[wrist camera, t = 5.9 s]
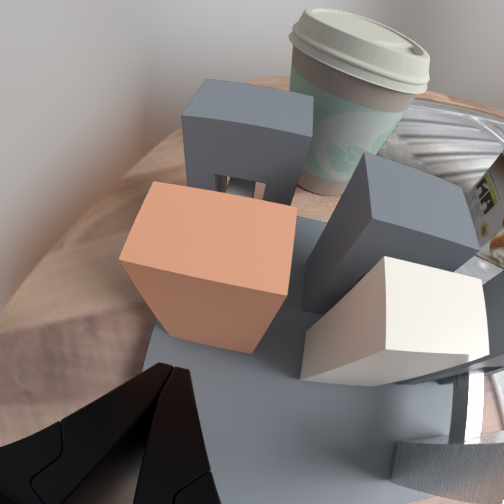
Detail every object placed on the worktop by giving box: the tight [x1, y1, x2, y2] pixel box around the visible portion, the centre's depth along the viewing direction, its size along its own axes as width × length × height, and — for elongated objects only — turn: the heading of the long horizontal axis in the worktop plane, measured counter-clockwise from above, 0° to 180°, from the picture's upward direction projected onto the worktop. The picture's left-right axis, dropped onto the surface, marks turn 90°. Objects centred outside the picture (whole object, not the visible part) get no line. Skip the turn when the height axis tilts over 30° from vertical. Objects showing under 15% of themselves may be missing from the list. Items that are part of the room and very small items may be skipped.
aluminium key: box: [390, 367, 504, 504], centre depth 8 cm, size 7×4×8 cm, turn 170°
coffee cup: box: [289, 7, 430, 196], centre depth 17 cm, size 9×8×12 cm
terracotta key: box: [119, 177, 297, 354], centre depth 12 cm, size 7×4×8 cm, turn 170°
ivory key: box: [300, 256, 489, 387], centre depth 11 cm, size 7×4×8 cm, turn 170°
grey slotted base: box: [142, 79, 504, 504], centre depth 11 cm, size 17×18×9 cm
